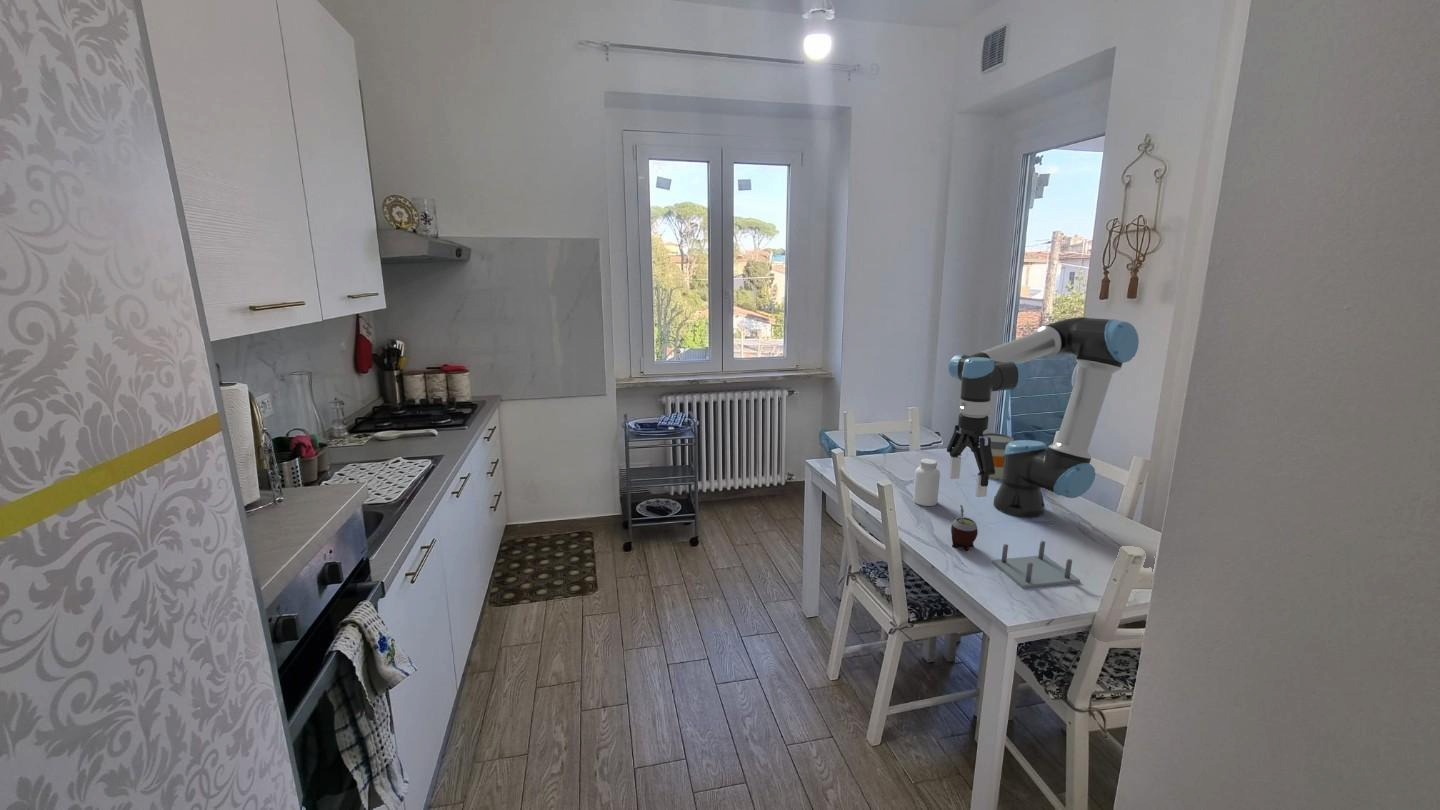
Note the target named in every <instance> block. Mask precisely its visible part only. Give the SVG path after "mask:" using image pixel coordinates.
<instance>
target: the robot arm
mask: <svg viewBox="0 0 1440 810" xmlns="http://www.w3.org/2000/svg"><path fill="white" fill-rule="evenodd" d="M1137 332H1138V331H1137V329H1136V328H1135V326H1134V325H1133V324H1132V323H1131V322H1128V321H1125V320H1118V319H1114V318H1113V319H1107V318H1106V319H1105V318H1095V317H1084V316H1082V317H1081V316H1079V317H1078V316H1077V317H1071V318H1066V319H1063V320H1058V321H1055V322H1052V323H1050V324H1049V323H1048V324H1046V325H1044V326H1041V327H1039V328H1037V329H1036V331H1035V332H1033V333H1030V334H1028V335H1025V336H1022V337H1019V338H1015V339H1013V340H1010V341H1008V342H1005V343H1001V344H999V345H997V346H996V345H995V346H993V347H990V348H988V349H985V350H982V351H979V352H977V353H973V354H971V355H968V354H956V355H954V356H953V357H952V358H951V359H950V361H949V362H948V367H947V368H948V373H949V376H951V377H952V378H953V379H956V380H959V381H961V388H960V400H959V414H958V421H957V424H956V425H954V431H953V434H952V436H951V438H950V441H949V444H948V445H947V447H946V452H947V453H949V456H950V465H949V466H950V467H949V479H950V480H956V479H960V474H961V465H962V464H961V463H962V454H963V452H964V450H965V449H966V448H967V447H968V448H969V449H970V452H971V453H973V455H974V458H975V461H976V465H977V468H978V471H979V472H978V473H977V477H976V478H977V479H976V486H975V487H976V488H975V497H977V498H981V497H987V492H988V487H989V486H988V485H989V479H990V478H989V475H994V474H995V468H994V462H993V457H992V451H991V439H990V437H987V438H985V437H983V434H984V432H985V431H986V430H987V429H988V428H989V419H990V418H989V414H990V410H991V409H990V408H991V397H992V392H1000V391H1007V390H1011V391H1013V390H1015V389H1020V388H1022V387H1024V386H1025V385H1026V384H1027V382H1028V379H1029V371H1028V368H1027V366H1026V365H1025V364H1024V363H1026V362H1030V361H1032V360H1035V359H1037V358H1040V357H1042V356H1046V357H1053V356H1055V355H1059V354H1067V355H1072V356H1073V355H1074V356H1076V359H1075V361H1076V363H1077V364H1078V366H1079V368H1078V371H1077V374H1076V378H1075V381H1074V384H1073V386H1072V390H1071V393H1070V397H1069V400H1068V402H1067V406H1066V408H1065V412H1064V415H1063V418H1062V422H1061V423H1060V424H1061V425H1060V427H1059V431H1058V433H1057V437H1056V440H1055V442H1053V443H1051V444H1050V445H1048V447H1047V444H1046V443H1045V442H1044V441H1043V442H1042V441H1040V440H1029V439H1027V440H1026V439H1024V440H1023V439H1019V440H1014V441H1012V442H1009V443H1008V444H1007V445H1006V449H1005V453H1004V463H1003V474H1002V478H1001V483H1000V486H999V488H998V490H997V492H996V494H995V496H994V497H993V507H995V508H996V509H997V510H998V511H1000V512H1002V513H1004V514H1008V515H1011V516H1015V517H1022V518H1036V517H1040V516H1042V515H1044V514H1045V510H1046V509H1045V508H1046V507H1045V501H1044V498H1043V492H1042V489H1044V490H1046V491H1049V492H1052V493H1054V494H1056V495H1057V496H1062V497H1065V498H1068V499H1075V498H1076V499H1077V498H1079V497H1081V496H1083V495H1084V494H1086V493H1087V491H1089V490H1090V489H1091V487H1092V485H1093V483H1094V481H1095V478H1096V470H1095V469H1096V468H1095V467H1094V466H1093V465H1092V464H1091V461H1092V456H1091V455H1090V453H1089V452H1088V450H1089V447H1090V445H1091V441H1092V437H1093V435H1094V432H1095V428H1096V426H1097V422H1098V420H1099V416H1100V413H1101V410H1102V408H1103V405H1104V401H1105V397H1106V395H1107V392H1108V389H1109V387H1110V384H1111V380H1112V376H1113V374H1114V373H1116V372H1118V371H1119V370H1122V367H1123V364H1124V363H1127V362H1130V361H1131V360H1133V358H1134V357H1135V356H1136V354H1137V351H1138V349H1139V343H1140V342H1139V341H1140V340H1139V333H1137ZM979 446H980V447H979ZM983 469H984V470H983Z"/></svg>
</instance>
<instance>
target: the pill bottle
mask: <svg viewBox="0 0 1440 810" xmlns="http://www.w3.org/2000/svg"><path fill="white" fill-rule="evenodd" d="M937 467H938V462H937V460H935V459H931V458H922V459H920V462H919V466H917V467H916V469H915V472H914V485H913V497H912V498H913V502H914V503H915V504H917V505H920V506H922V507H923V506H924V507H933V506H936V505H937V504H938V498H939V490H940V478H941V473H940V469H938V468H937Z"/></svg>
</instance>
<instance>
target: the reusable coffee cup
mask: <svg viewBox="0 0 1440 810" xmlns="http://www.w3.org/2000/svg"><path fill="white" fill-rule="evenodd" d="M983 437H985V438H987V437H990V439H991V451H992V457H993V462H994V468H995V474H994V475H989V479H995V480H998V479H999V480H1000V479H1001V480H1002V474H1003V463H1004V453H1005V449H1006V445H1007V444H1008V443H1009V442H1012V441H1015V439H1014V438H1013V437H1012V436H1010V435H1006V434H1002V433H997V432H995V433H993V432H989V433H988V432H985V433H984V432H983ZM979 447H980V446H979ZM983 470H984V469H983Z"/></svg>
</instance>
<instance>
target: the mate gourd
mask: <svg viewBox="0 0 1440 810" xmlns="http://www.w3.org/2000/svg"><path fill="white" fill-rule="evenodd" d="M959 506H960V514H961V515H960V517H957V518H955V519H954V520H953V522H952V524H951V528H950V531H951V532H950V534H951V541H952V544H951V547H952V548H962V549H963V550H964V551H965V552H968V553H969V552H970V549H969V548H973V547H975V545H974V543H975V541H976V539H977V536H978V534H979V533H978V525H977V523H976V522H975V521H974V520H973V519H972V518H968V517H964V512H965V510H964V506H963V505H962V504H960V505H959Z"/></svg>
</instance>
